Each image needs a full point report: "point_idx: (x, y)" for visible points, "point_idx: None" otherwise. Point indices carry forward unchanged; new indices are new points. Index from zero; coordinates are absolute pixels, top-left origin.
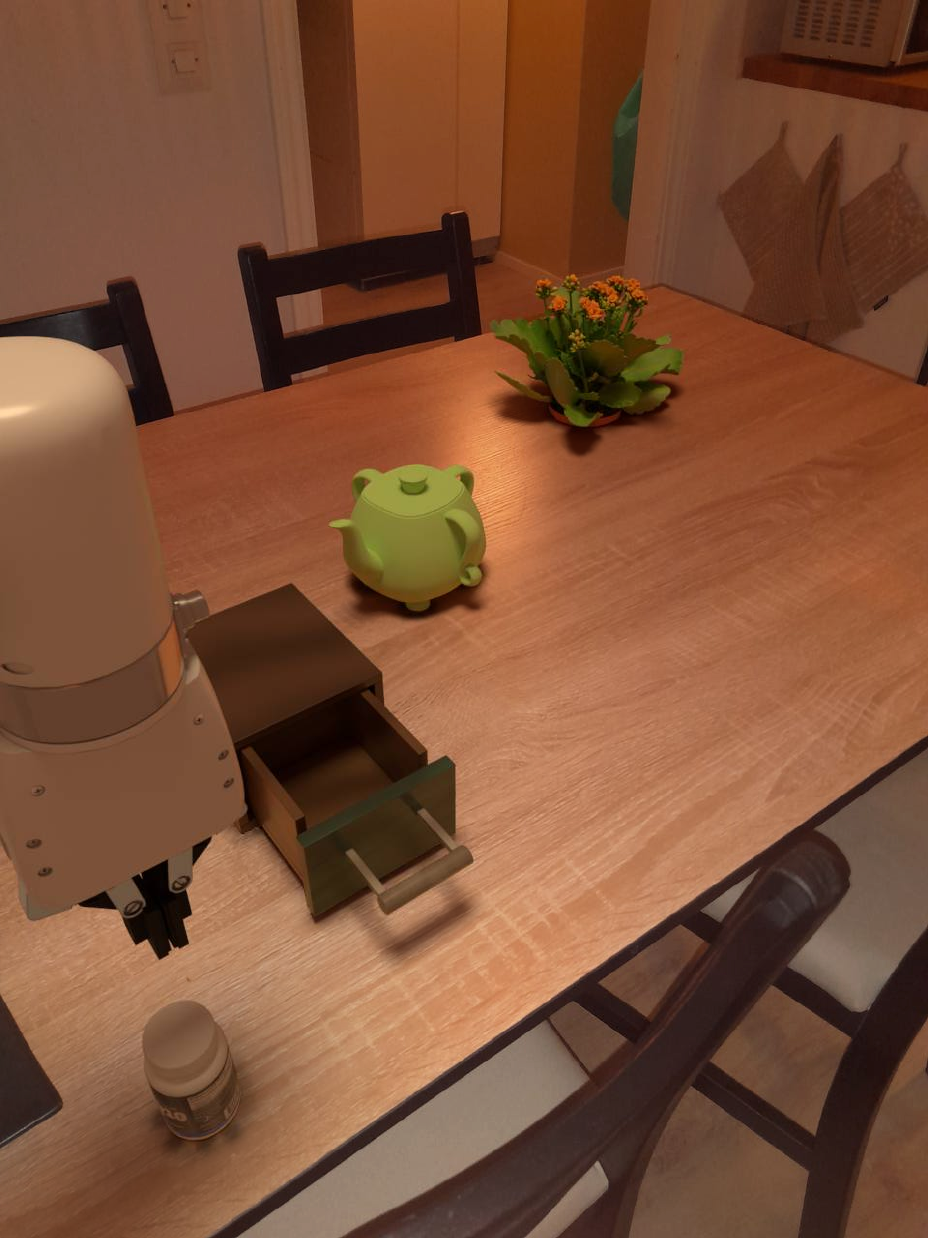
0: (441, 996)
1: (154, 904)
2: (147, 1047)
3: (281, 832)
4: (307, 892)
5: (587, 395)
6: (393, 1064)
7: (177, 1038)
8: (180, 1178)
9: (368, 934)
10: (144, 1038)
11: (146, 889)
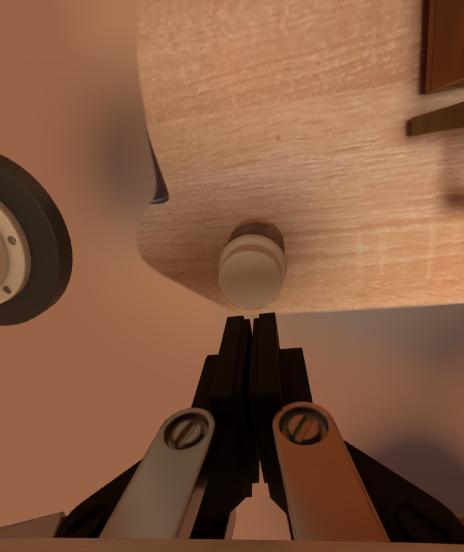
0: (453, 257)
1: (252, 480)
2: (222, 281)
3: (455, 20)
4: (425, 123)
5: None
6: (386, 285)
7: (247, 286)
8: None
9: (441, 172)
10: (221, 272)
11: (247, 447)
